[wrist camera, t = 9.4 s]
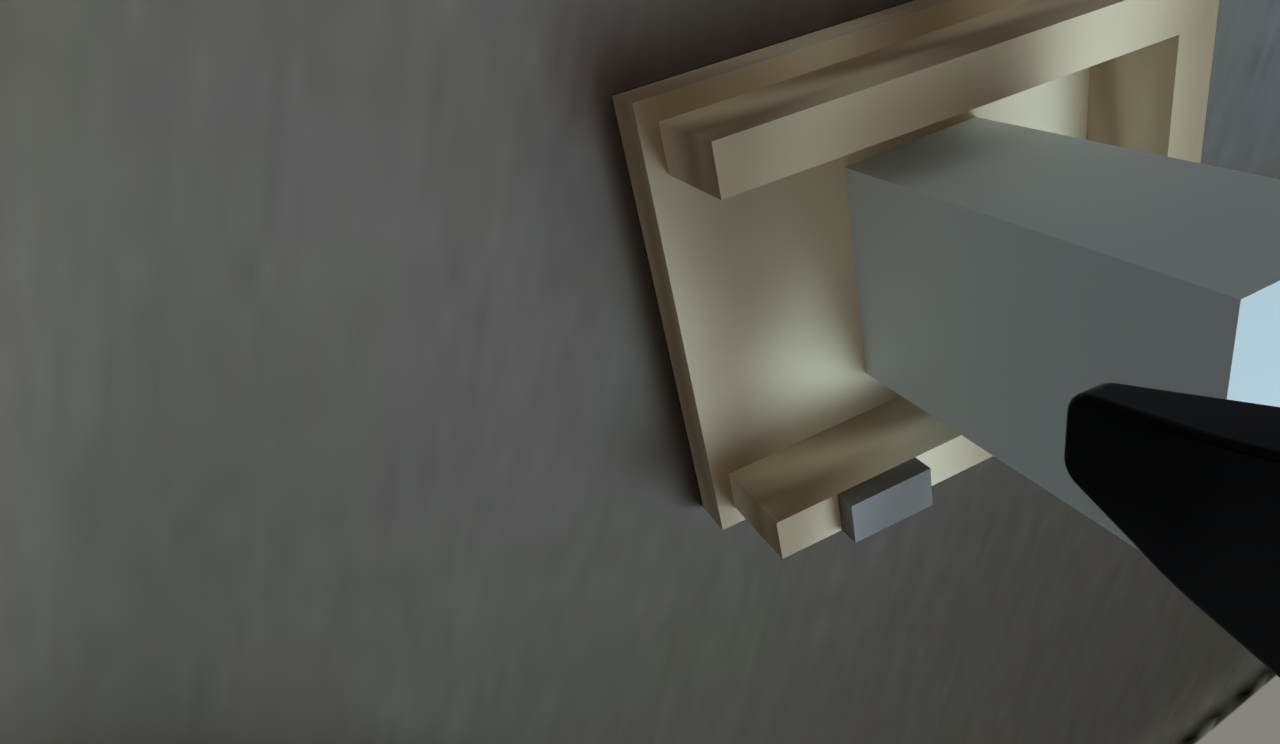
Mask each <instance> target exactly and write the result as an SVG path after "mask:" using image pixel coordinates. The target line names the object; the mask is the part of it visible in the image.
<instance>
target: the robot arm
mask: <svg viewBox="0 0 1280 744" xmlns="http://www.w3.org/2000/svg"><path fill="white" fill-rule="evenodd" d="M1064 462H1065V466H1066V469H1067V471H1068V473H1069V475H1070V477H1071V478H1072V480H1073V481H1074V482H1075V483H1076V484H1077V485H1078V486H1079V487H1080V488H1081V489H1082V491H1083V492H1084V493H1085V494H1086V495H1087V496H1088V497H1089V498H1090V499H1091V500H1092V501H1093V502H1094V503H1095V504H1096V505H1097V506H1098V507H1099V508H1100V509H1101V510H1102V511H1103V512H1104V513H1105V514H1106V515H1107V516H1108V518H1109V519H1110V520H1111V521H1112V522H1113V523H1114V524H1115V525H1116V526H1117V527H1118V528H1119V529H1120V530H1121V531H1122V532H1123V533H1124V534H1125V535H1126V536H1127V537H1128V538H1129V539H1130V540H1131V541H1132V542H1133V543H1134V544H1135V546H1136V547H1137V548H1138V549H1139V550H1140V551H1141V552H1142V553H1143V554H1144V555H1145V556H1146V557H1147V558H1148V559H1149V560H1150V561H1151V562H1152V563H1153V564H1154V565H1155V566H1156V567H1157V568H1158V569H1159V570H1160V571H1161V572H1162V573H1163V574H1164V575H1165V576H1166V577H1167V578H1168V579H1169V580H1170V581H1171V582H1172V583H1173V584H1174V585H1175V586H1176V587H1177V588H1178V589H1179V590H1180V591H1181V592H1182V593H1183V594H1184V595H1185V596H1187V597H1188V598H1189V599H1190V600H1191V601H1192V602H1193V603H1194V604H1195V605H1197V606H1198V607H1199V608H1200V609H1201V610H1202V611H1203V612H1205V613H1206V614H1207V615H1208V616H1209V617H1210V618H1212V619H1213V620H1214V621H1215V622H1216V623H1217V624H1218V625H1220V626H1221V627H1222V628H1223V629H1224V630H1225V631H1227V632H1228V633H1229V634H1230V635H1231V636H1232V637H1233V638H1235V639H1236V640H1237V641H1238V642H1239V643H1240V644H1242V645H1243V646H1244V647H1245V648H1246V649H1247V650H1248V651H1250V652H1251V653H1252V654H1253V655H1254V656H1255V657H1257V658H1258V659H1259V660H1260V661H1261V662H1262V663H1263V664H1265V665H1266V666H1267V667H1268V668H1269V669H1270V670H1272V671H1273V672H1274V673H1275V674H1276V675H1277V676H1279V677H1280V407H1276V406H1269V405H1262V404H1255V403H1248V402H1241V401H1235V400H1228V399H1221V398H1214V397H1207V396H1201V395H1194V394H1187V393H1180V392H1173V391H1166V390H1160V389H1153V388H1146V387H1139V386H1132V385H1126V384H1119V383H1103V384H1099V385H1097V386H1095V387H1093V388H1090V389H1088V390H1086V391H1083V392H1081V393H1079V394H1077V395H1075V396H1074V397H1073V398H1072V399H1071V401H1070V402H1069V404H1068V409H1067V420H1066V435H1065V449H1064Z"/></svg>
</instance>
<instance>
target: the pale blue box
mask: <svg viewBox="0 0 1280 744" xmlns="http://www.w3.org/2000/svg"><path fill="white" fill-rule="evenodd" d="M844 170H845V179H846V188H847V198H848V207H849V216H850V225H851V235H852V244H853V253H854V263H855V272H856V281H857V290H858V300H859V309H860V318H861V328H862V337H863V346H864V356H865V365H866V374H868V375H870V376H871V377H873V378H874V379H876V380H877V381H879V382H880V383H882V384H883V385H885V386H887V387H888V388H890V389H891V390H893V391H894V392H896V393H897V394H899V395H900V396H902V397H904V398H905V399H907V400H908V401H910V402H911V403H913V404H914V405H916V406H917V407H919V408H920V409H922V410H924V411H925V412H927V413H928V414H930V415H931V416H933V417H934V418H936V419H937V420H939V421H941V422H942V423H944V424H945V425H947V426H948V427H950V428H951V429H953V430H954V431H956V432H958V433H959V434H961V435H962V436H964V437H965V438H967V439H968V440H970V441H971V442H973V443H975V444H976V445H978V446H979V447H981V448H982V449H984V450H985V451H987V452H988V453H990V454H991V455H993V456H995V457H996V458H998V459H999V460H1001V461H1002V462H1004V463H1005V464H1007V465H1008V466H1010V467H1012V468H1013V469H1015V470H1016V471H1018V472H1019V473H1021V474H1022V475H1024V476H1025V477H1027V478H1029V479H1030V480H1032V481H1033V482H1035V483H1036V484H1038V485H1039V486H1041V487H1042V488H1044V489H1045V490H1047V491H1049V492H1050V493H1052V494H1053V495H1055V496H1056V497H1058V498H1059V499H1061V500H1062V501H1064V502H1066V503H1067V504H1069V505H1070V506H1072V507H1073V508H1075V509H1076V510H1078V511H1079V512H1081V513H1083V514H1084V515H1086V516H1087V517H1089V518H1090V519H1092V520H1093V521H1095V522H1096V523H1098V524H1099V525H1101V526H1103V527H1104V528H1106V529H1107V530H1109V531H1110V532H1112V533H1113V534H1115V535H1116V536H1118V537H1120V538H1121V539H1123V540H1124V541H1126V542H1127V543H1129V544H1130V545H1132V546H1133V547H1135V548H1137V547H1136V546H1135V544H1134V543H1133V542H1132V541H1131V540H1130V539H1129V538H1128V537H1127V536H1126V535H1125V534H1124V533H1123V532H1122V531H1121V530H1120V529H1119V528H1118V527H1117V526H1116V525H1115V524H1114V523H1113V522H1112V521H1111V520H1110V519H1109V518H1108V516H1107V515H1106V514H1105V513H1104V512H1103V511H1102V510H1101V509H1100V508H1099V507H1098V506H1097V505H1096V504H1095V503H1094V502H1093V501H1092V500H1091V499H1090V498H1089V497H1088V496H1087V495H1086V494H1085V493H1084V492H1083V491H1082V489H1081V488H1080V487H1079V486H1078V485H1077V484H1076V483H1075V482H1074V481H1073V480H1072V478H1071V477H1070V475H1069V473H1068V471H1067V469H1066V466H1065V462H1064V449H1065V435H1066V420H1067V409H1068V404H1069V402H1070V401H1071V399H1072V398H1073V397H1074V396H1075V395H1077V394H1079V393H1081V392H1083V391H1086V390H1088V389H1090V388H1093V387H1095V386H1097V385H1099V384H1103V383H1119V384H1126V385H1132V386H1139V387H1146V388H1153V389H1160V390H1166V391H1173V392H1180V393H1187V394H1194V395H1201V396H1207V397H1214V398H1221V399H1228V400H1235V401H1241V402H1248V403H1255V404H1262V405H1269V406H1276V407H1280V180H1278V179H1273V178H1269V177H1264V176H1259V175H1254V174H1249V173H1244V172H1240V171H1235V170H1230V169H1225V168H1220V167H1216V166H1211V165H1206V164H1201V163H1196V162H1191V161H1187V160H1182V159H1177V158H1172V157H1167V156H1162V155H1158V154H1153V153H1148V152H1143V151H1138V150H1133V149H1129V148H1124V147H1119V146H1114V145H1109V144H1104V143H1100V142H1095V141H1090V140H1085V139H1080V138H1075V137H1071V136H1066V135H1061V134H1056V133H1051V132H1046V131H1042V130H1037V129H1032V128H1027V127H1022V126H1017V125H1013V124H1008V123H1003V122H998V121H993V120H988V119H984V118H979V117H974V118H971V119H969V120H966V121H964V122H961V123H958V124H956V125H953V126H951V127H948V128H945V129H943V130H940V131H937V132H935V133H932V134H930V135H927V136H924V137H922V138H919V139H917V140H914V141H911V142H909V143H906V144H904V145H901V146H898V147H896V148H893V149H890V150H888V151H885V152H883V153H880V154H877V155H875V156H872V157H870V158H867V159H864V160H862V161H859V162H857V163H854V164H851V165H849V166H846V167H844ZM1137 549H1138V548H1137ZM1138 550H1139V549H1138Z"/></svg>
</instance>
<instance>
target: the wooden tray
mask: <svg viewBox="0 0 1280 744" xmlns="http://www.w3.org/2000/svg"><path fill="white" fill-rule="evenodd" d="M1218 6H1219V0H914V1H911V2H908V3H904V4H901V5H898V6H895V7H892V8H889V9H885V10H882V11H879V12H876V13H873V14H870V15H866V16H863V17H860V18H857V19H854V20H851V21H848V22H844V23H841V24H838V25H835V26H832V27H829V28H825V29H822V30H819V31H816V32H813V33H810V34H806V35H803V36H800V37H797V38H794V39H791V40H787V41H784V42H781V43H778V44H775V45H772V46H769V47H765V48H762V49H759V50H756V51H753V52H750V53H746V54H743V55H740V56H737V57H734V58H731V59H727V60H724V61H721V62H718V63H715V64H712V65H708V66H705V67H702V68H699V69H696V70H693V71H689V72H686V73H683V74H680V75H677V76H674V77H671V78H667V79H664V80H661V81H658V82H655V83H652V84H648V85H645V86H642V87H639V88H636V89H633V90H629V91H626V92H623V93H620V94H617V95H614V96H612V99H613V103H614V108H615V112H616V117H617V121H618V126H619V130H620V135H621V139H622V144H623V148H624V153H625V157H626V162H627V166H628V171H629V175H630V180H631V184H632V189H633V193H634V198H635V202H636V207H637V211H638V216H639V220H640V224H641V229H642V233H643V238H644V242H645V247H646V251H647V256H648V260H649V265H650V269H651V274H652V278H653V283H654V287H655V292H656V296H657V301H658V305H659V310H660V314H661V319H662V323H663V328H664V332H665V337H666V341H667V346H668V350H669V355H670V359H671V364H672V368H673V373H674V377H675V382H676V386H677V391H678V395H679V400H680V404H681V409H682V413H683V418H684V422H685V427H686V431H687V436H688V440H689V445H690V449H691V454H692V458H693V463H694V467H695V471H696V476H697V480H698V485H699V489H700V494H701V498H702V503H703V507H704V509H705V510H706V511H707V512H708V513H709V514H710V516H711V517H712V518H713V519H714V520H715V521H716V523H717V524H718V525H719V526H720V527H721V528H722V529H723V530H724V529H726V528H728V527H730V526H732V525H734V524H736V523H738V522H741V521H743V520H745V519H746V520H747V521H748V522H749V523H750V524H751V525H752V526H753V527H754V528H755V529H756V531H757V532H758V533H759V534H760V535H761V536H762V537H763V538H764V539H765V540H766V541H767V543H768V544H769V545H770V546H771V547H772V548H773V549H774V550H775V551H776V552H777V553H778V554H779V556H780V557H781V558H782V559H783V558H785V557H787V556H789V555H791V554H794V553H796V552H798V551H800V550H802V549H804V548H806V547H808V546H810V545H812V544H814V543H816V542H818V541H820V540H822V539H824V538H826V537H828V536H830V535H832V534H834V533H836V532H839V531H841V530H843V531H844V532H845V533H846V534H847V535H848V536H849V537H850V538H851V539H852V540H853V541H854V542H855V543H856V542H858V541H860V540H862V539H864V538H866V537H868V536H870V535H872V534H874V533H876V532H878V531H880V530H882V529H884V528H886V527H888V526H890V525H892V524H894V523H896V522H898V521H900V520H902V519H904V518H906V517H909V516H911V515H913V514H915V513H917V512H919V511H921V510H923V509H925V508H927V507H929V506H931V505H932V486H933V485H935V484H937V483H939V482H941V481H943V480H945V479H947V478H949V477H951V476H953V475H955V474H957V473H959V472H961V471H963V470H965V469H967V468H969V467H971V466H974V465H976V464H978V463H980V462H982V461H984V460H986V459H988V458H990V457H992V456H993V455H991V454H990V453H988V452H987V451H985V450H984V449H982V448H981V447H979V446H978V445H976V444H975V443H973V442H971V441H970V440H968V439H967V438H965V437H964V436H962V435H961V434H959V433H958V432H956V431H954V430H953V429H951V428H950V427H948V426H947V425H945V424H944V423H942V422H941V421H939V420H937V419H936V418H934V417H933V416H931V415H930V414H928V413H927V412H925V411H924V410H922V409H920V408H919V407H917V406H916V405H914V404H913V403H911V402H910V401H908V400H907V399H905V398H904V397H902V396H900V395H899V394H897V393H896V392H894V391H893V390H891V389H890V388H888V387H887V386H885V385H883V384H882V383H880V382H879V381H877V380H876V379H874V378H873V377H871V376H870V375H868V374H866V365H865V356H864V346H863V337H862V328H861V318H860V309H859V300H858V290H857V281H856V272H855V263H854V253H853V244H852V235H851V225H850V216H849V207H848V198H847V188H846V179H845V170H844V167H846V166H849V165H851V164H854V163H857V162H859V161H862V160H864V159H867V158H870V157H872V156H875V155H877V154H880V153H883V152H885V151H888V150H890V149H893V148H896V147H898V146H901V145H904V144H906V143H909V142H911V141H914V140H917V139H919V138H922V137H924V136H927V135H930V134H932V133H935V132H937V131H940V130H943V129H945V128H948V127H951V126H953V125H956V124H958V123H961V122H964V121H966V120H969V119H971V118H974V117H979V118H984V119H988V120H993V121H998V122H1003V123H1008V124H1013V125H1017V126H1022V127H1027V128H1032V129H1037V130H1042V131H1046V132H1051V133H1056V134H1061V135H1066V136H1071V137H1075V138H1080V139H1085V140H1090V141H1095V142H1100V143H1104V144H1109V145H1114V146H1119V147H1124V148H1129V149H1133V150H1138V151H1143V152H1148V153H1153V154H1158V155H1162V156H1167V157H1172V158H1177V159H1182V160H1187V161H1191V162H1196V163H1200V161H1201V152H1202V144H1203V135H1204V127H1205V118H1206V109H1207V101H1208V92H1209V84H1210V75H1211V66H1212V58H1213V49H1214V41H1215V32H1216V23H1217V15H1218Z"/></svg>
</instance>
